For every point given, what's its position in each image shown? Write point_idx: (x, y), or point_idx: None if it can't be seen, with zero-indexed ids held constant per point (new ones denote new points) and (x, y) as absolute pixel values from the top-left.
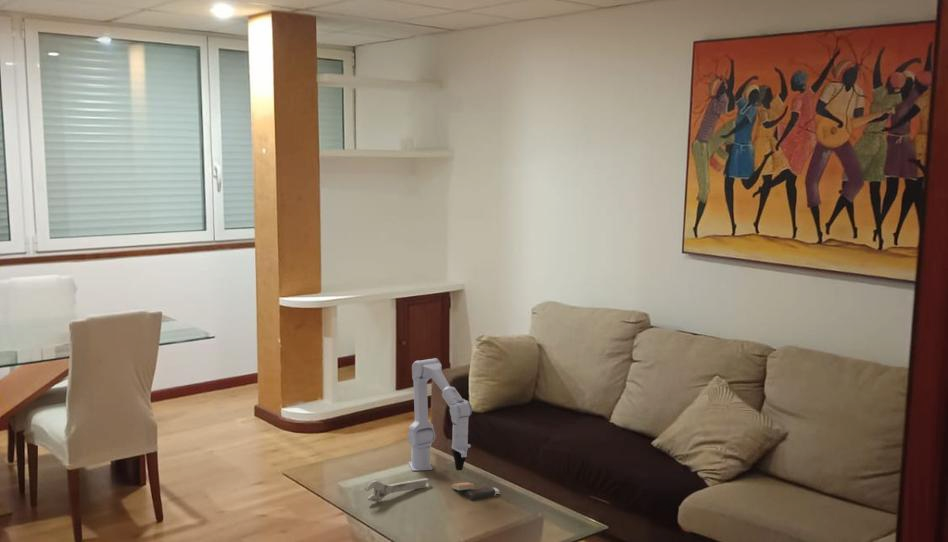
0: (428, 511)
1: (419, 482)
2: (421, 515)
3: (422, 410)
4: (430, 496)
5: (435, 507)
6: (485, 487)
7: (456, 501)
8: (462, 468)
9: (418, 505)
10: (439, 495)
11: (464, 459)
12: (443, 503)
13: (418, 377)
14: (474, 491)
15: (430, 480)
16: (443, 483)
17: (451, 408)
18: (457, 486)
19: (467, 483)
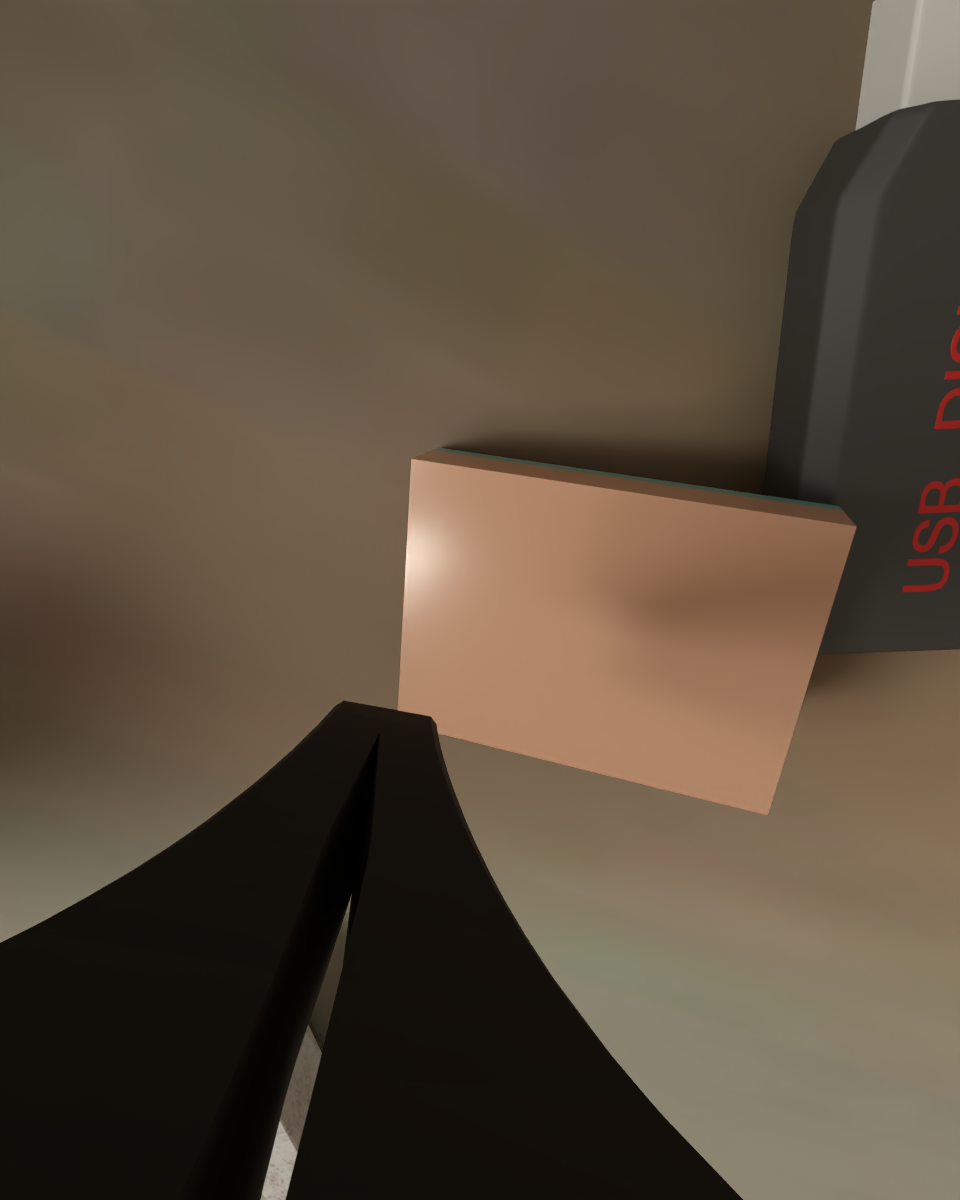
0: (911, 1113)
1: None
2: (950, 1178)
3: None
4: (562, 988)
5: (866, 1039)
6: (881, 243)
7: (859, 805)
8: (434, 733)
9: (725, 1137)
10: (580, 903)
11: (540, 990)
12: (821, 945)
13: None
14: (921, 552)
15: None
16: (198, 722)
17: None
18: (690, 786)
19: (598, 549)
